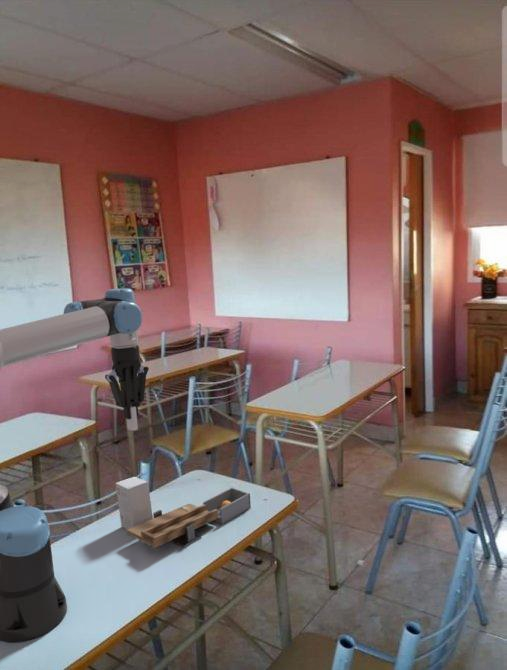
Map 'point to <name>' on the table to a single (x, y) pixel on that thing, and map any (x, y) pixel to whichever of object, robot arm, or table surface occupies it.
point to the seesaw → (172, 524)
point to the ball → (225, 503)
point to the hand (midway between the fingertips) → (132, 429)
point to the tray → (236, 507)
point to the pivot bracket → (185, 538)
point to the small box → (133, 502)
